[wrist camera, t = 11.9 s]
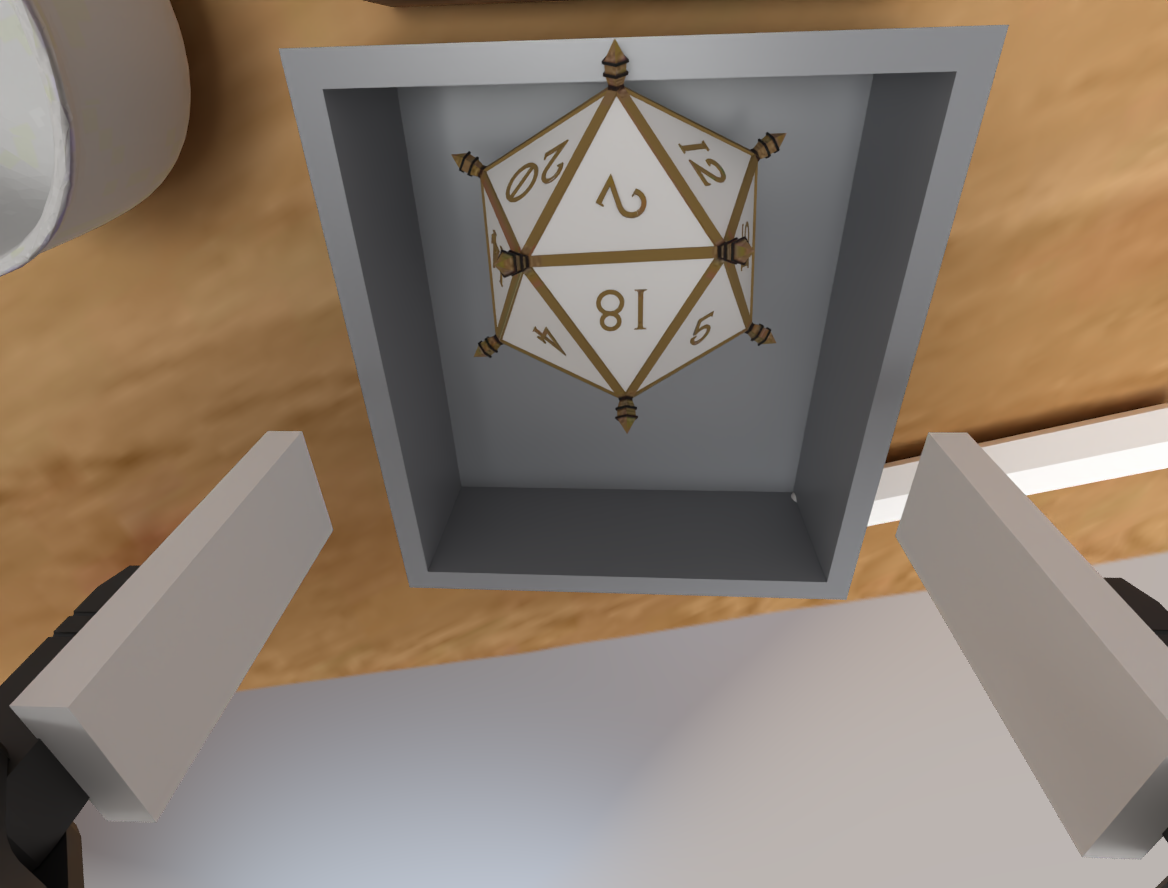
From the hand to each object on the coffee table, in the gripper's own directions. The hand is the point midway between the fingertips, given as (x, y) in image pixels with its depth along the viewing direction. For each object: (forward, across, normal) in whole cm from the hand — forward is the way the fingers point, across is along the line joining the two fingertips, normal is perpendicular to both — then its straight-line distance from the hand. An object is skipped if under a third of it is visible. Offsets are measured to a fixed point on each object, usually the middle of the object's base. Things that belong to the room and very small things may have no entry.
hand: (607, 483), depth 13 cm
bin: (+11, 0, 0) cm, 11 cm away
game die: (+9, 0, -1) cm, 9 cm away
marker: (+11, -13, +6) cm, 18 cm away
